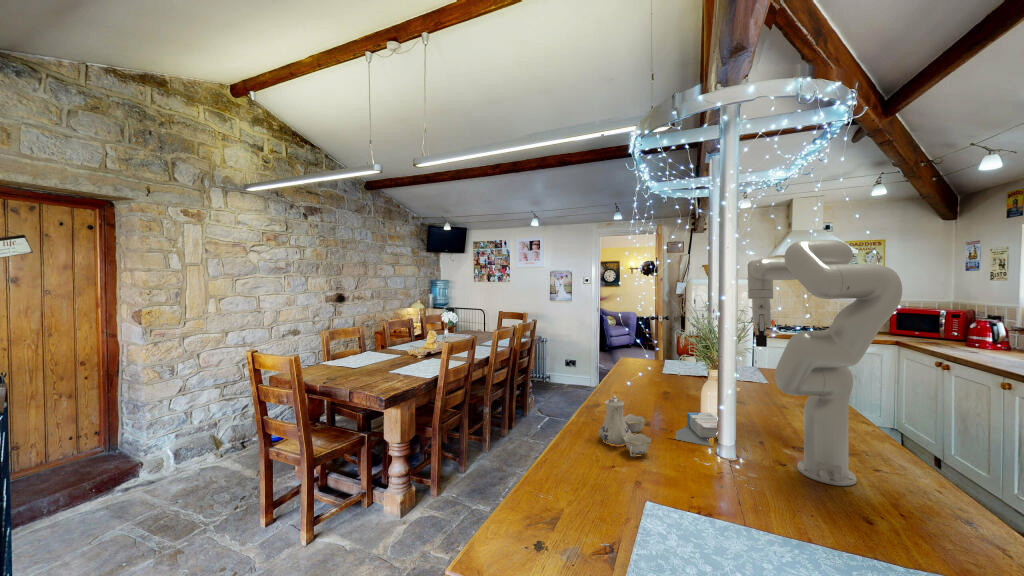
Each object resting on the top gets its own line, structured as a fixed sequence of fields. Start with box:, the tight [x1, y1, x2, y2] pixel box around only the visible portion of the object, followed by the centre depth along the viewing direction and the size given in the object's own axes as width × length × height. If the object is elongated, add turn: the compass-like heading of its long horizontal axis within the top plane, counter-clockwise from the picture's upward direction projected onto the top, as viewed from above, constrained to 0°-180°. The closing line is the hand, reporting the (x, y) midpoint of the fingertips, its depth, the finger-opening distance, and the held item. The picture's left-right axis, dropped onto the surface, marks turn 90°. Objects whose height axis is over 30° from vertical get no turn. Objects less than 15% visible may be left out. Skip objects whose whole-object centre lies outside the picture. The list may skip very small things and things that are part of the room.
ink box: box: [686, 412, 718, 439], centre depth 135 cm, size 9×5×15 cm
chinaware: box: [598, 394, 653, 457], centre depth 130 cm, size 28×17×17 cm, turn 172°
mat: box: [675, 425, 710, 447], centre depth 135 cm, size 16×14×1 cm
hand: (761, 346), depth 136 cm, fingers closed
